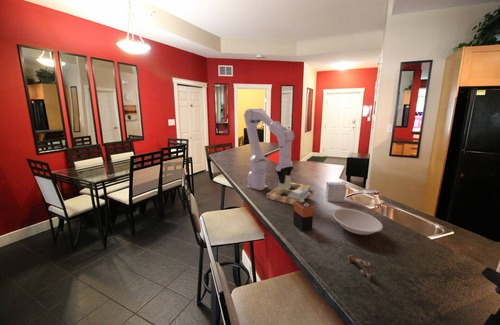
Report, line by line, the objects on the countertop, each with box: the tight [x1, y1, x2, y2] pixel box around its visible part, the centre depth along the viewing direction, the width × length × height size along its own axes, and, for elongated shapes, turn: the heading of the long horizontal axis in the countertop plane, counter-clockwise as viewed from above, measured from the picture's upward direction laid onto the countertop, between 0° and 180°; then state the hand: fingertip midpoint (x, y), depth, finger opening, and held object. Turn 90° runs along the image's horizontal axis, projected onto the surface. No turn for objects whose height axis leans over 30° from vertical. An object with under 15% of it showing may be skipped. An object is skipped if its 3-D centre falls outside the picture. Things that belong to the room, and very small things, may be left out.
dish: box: [332, 208, 384, 236], centre depth 79 cm, size 18×14×5 cm
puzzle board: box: [266, 181, 312, 206], centre depth 115 cm, size 18×24×2 cm
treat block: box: [277, 175, 292, 190], centre depth 110 cm, size 4×4×6 cm
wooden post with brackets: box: [347, 254, 372, 280], centre depth 60 cm, size 2×8×4 cm, turn 11°
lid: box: [287, 189, 311, 201], centre depth 107 cm, size 8×10×3 cm
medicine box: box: [325, 181, 347, 203], centre depth 107 cm, size 8×4×9 cm, turn 84°
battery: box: [292, 199, 314, 232], centre depth 82 cm, size 4×7×10 cm, turn 20°
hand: (284, 182), depth 110 cm, fingers closed on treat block, 4 cm apart
